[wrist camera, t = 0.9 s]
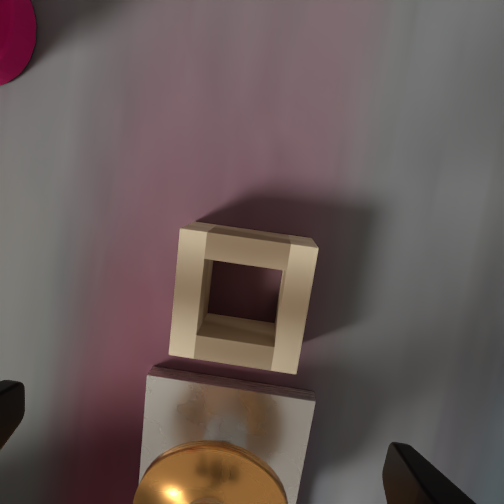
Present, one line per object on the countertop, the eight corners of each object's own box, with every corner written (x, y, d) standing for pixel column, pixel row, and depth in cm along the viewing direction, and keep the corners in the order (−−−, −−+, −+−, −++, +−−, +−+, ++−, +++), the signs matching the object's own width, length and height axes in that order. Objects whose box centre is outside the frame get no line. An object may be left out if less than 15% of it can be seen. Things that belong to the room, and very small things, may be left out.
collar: (292, 346, 20) (296, 374, 17) (183, 330, 20) (168, 354, 17) (311, 237, 19) (318, 248, 16) (194, 221, 19) (179, 228, 16)
